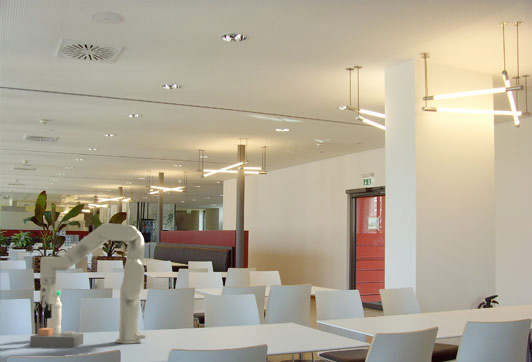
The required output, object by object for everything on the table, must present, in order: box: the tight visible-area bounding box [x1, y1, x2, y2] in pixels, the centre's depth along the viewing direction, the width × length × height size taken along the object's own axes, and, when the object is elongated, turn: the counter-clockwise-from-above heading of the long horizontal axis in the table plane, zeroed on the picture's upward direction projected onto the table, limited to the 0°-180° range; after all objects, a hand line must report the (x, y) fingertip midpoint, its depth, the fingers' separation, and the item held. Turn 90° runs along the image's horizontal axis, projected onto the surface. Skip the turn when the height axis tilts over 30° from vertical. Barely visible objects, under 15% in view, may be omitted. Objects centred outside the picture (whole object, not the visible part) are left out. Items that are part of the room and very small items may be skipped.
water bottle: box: [46, 290, 63, 333], centre depth 321 cm, size 7×7×25 cm
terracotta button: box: [37, 327, 53, 336], centre depth 305 cm, size 5×5×5 cm
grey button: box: [61, 330, 77, 336], centre depth 303 cm, size 5×5×5 cm
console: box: [29, 332, 84, 349], centre depth 304 cm, size 22×12×5 cm, turn 85°
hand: (47, 318), depth 306 cm, fingers closed
